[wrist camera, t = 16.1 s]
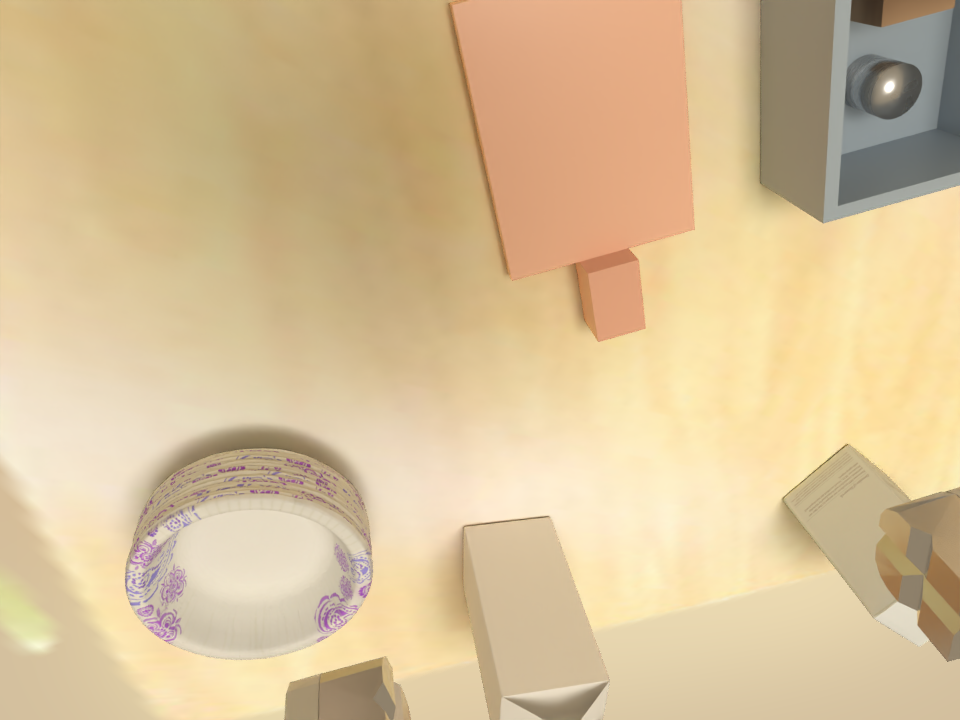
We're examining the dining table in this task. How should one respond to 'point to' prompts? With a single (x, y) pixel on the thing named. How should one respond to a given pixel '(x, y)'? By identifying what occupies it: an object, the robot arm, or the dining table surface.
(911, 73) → the metal knob
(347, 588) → the paper bowls
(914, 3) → the walnut block
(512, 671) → the milk carton
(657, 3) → the lid
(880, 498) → the supplement box
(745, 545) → the dining table surface
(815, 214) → the tub
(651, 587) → the dining table surface
